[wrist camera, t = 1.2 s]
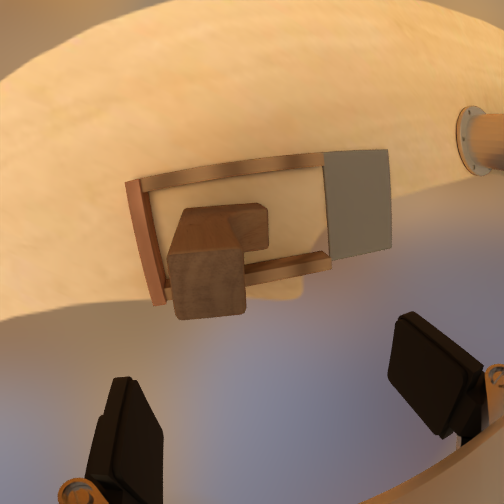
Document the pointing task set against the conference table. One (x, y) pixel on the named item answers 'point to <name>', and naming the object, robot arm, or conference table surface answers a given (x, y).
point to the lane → (140, 187)
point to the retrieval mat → (357, 202)
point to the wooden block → (214, 258)
